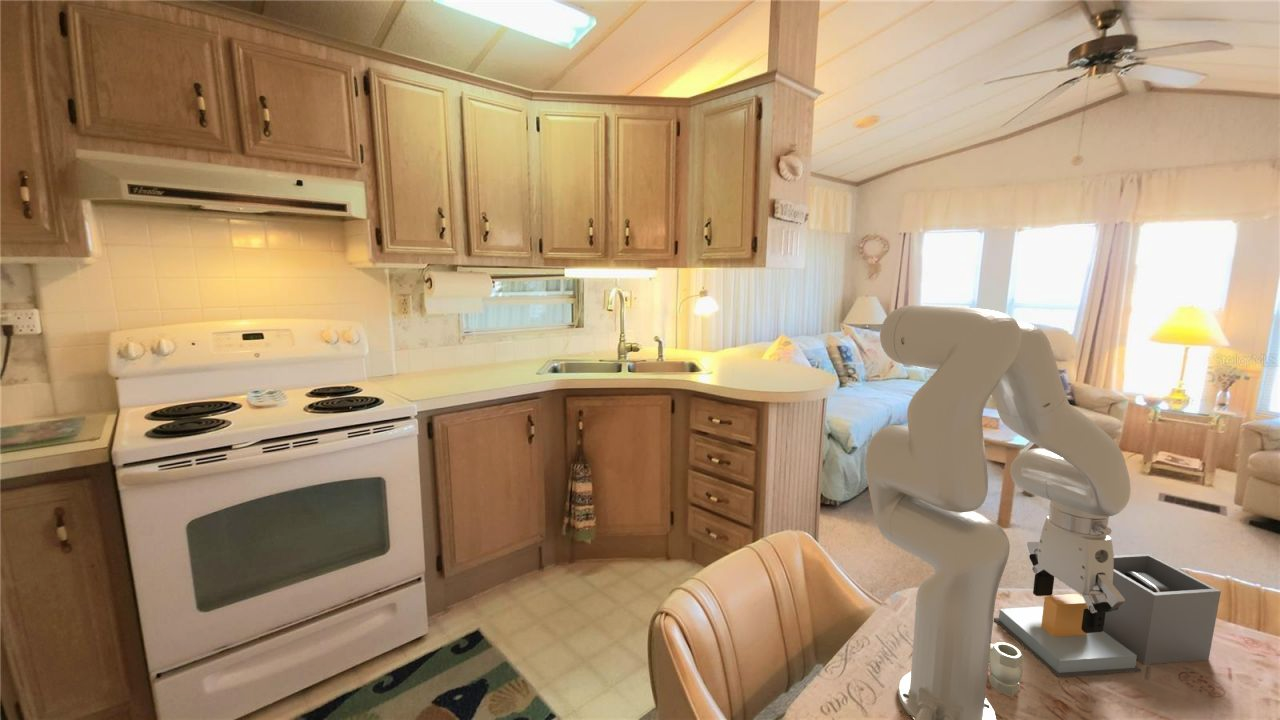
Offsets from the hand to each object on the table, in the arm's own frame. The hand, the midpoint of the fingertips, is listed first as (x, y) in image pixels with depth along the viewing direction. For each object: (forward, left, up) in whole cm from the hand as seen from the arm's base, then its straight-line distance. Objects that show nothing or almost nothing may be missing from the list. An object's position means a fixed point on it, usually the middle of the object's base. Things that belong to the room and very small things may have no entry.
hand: (1065, 612), depth 89 cm
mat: (0, 0, -6) cm, 6 cm away
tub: (+10, -10, -6) cm, 16 cm away
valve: (-14, +9, -6) cm, 18 cm away
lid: (0, 0, -6) cm, 6 cm away
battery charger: (+10, -10, -6) cm, 16 cm away
